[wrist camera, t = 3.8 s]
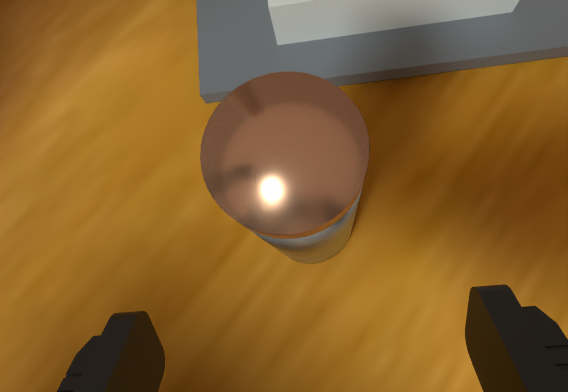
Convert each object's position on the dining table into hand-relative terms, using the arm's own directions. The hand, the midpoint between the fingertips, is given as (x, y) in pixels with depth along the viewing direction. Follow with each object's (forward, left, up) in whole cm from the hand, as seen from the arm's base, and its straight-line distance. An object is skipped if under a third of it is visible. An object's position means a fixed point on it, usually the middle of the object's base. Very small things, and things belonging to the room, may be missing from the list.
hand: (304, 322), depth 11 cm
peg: (0, +4, -9) cm, 10 cm away
